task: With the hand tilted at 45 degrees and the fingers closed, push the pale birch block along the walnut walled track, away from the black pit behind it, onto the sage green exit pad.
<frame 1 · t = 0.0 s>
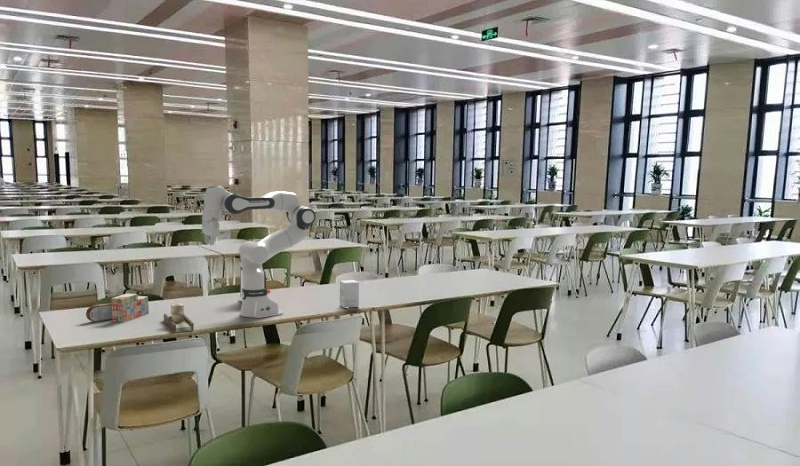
hand: (209, 244, 306), 39 cm above the table, tool pointing down, fingers open, 8 cm apart
walled track: (178, 325, 295), on the table
supplement box: (348, 307, 347), on the table
birch block: (177, 320, 296), point 2 cm above the table, touching walled track
tin: (102, 321, 301), on the table
stack of blocks: (130, 318, 308), on the table
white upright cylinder: (253, 302, 354), on the table
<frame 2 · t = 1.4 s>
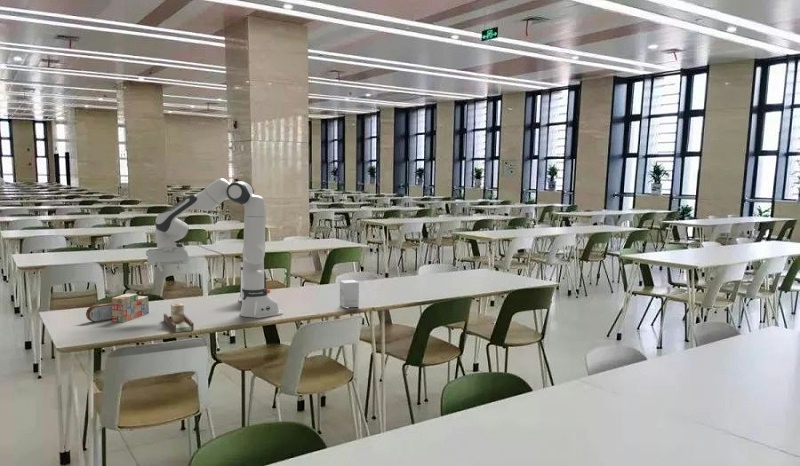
hand: (170, 270, 308), 25 cm above the table, tool tilted 45°, fingers open, 7 cm apart
nothing on the table moved.
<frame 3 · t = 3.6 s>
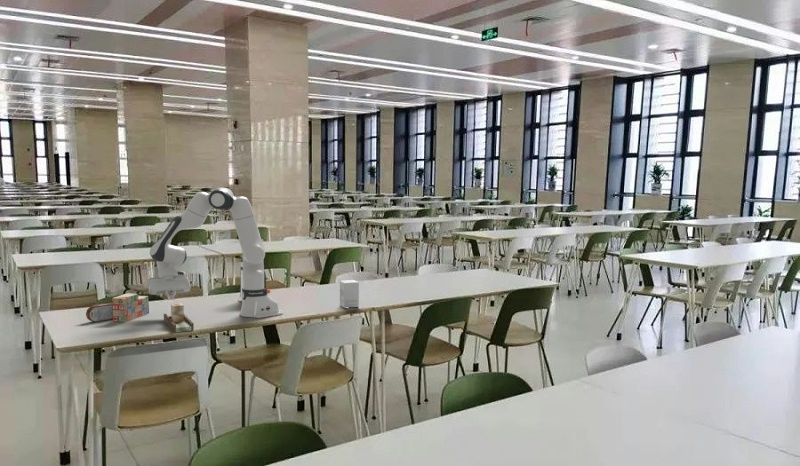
hand: (171, 298, 307), 10 cm above the table, tool tilted 45°, fingers closed
nothing on the table moved.
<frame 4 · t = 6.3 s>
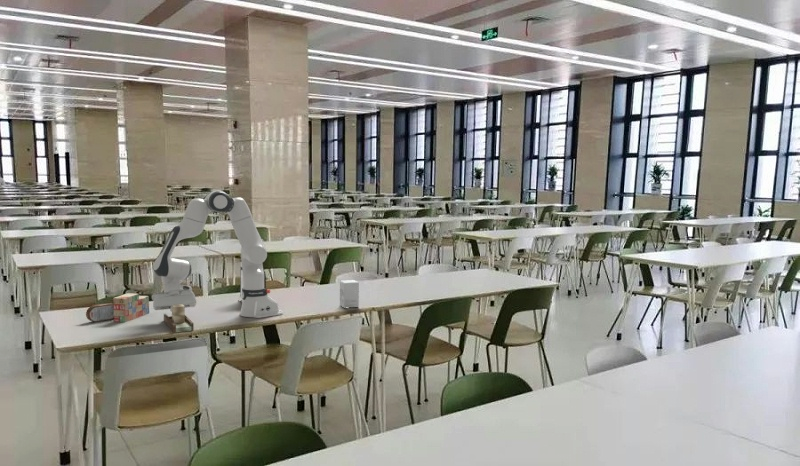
hand: (177, 314, 296), 5 cm above the table, tool tilted 45°, fingers closed, pressing on birch block
birch block: (178, 321, 294), point 2 cm above the table, touching gripper
everything else where it was.
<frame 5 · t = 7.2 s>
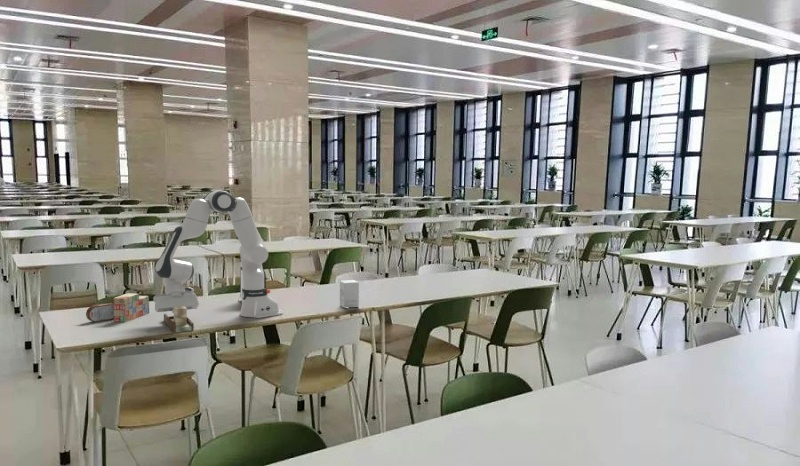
hand: (179, 316, 292), 5 cm above the table, tool tilted 45°, fingers closed, pressing on birch block
birch block: (180, 324, 289), point 2 cm above the table, touching gripper, walled track
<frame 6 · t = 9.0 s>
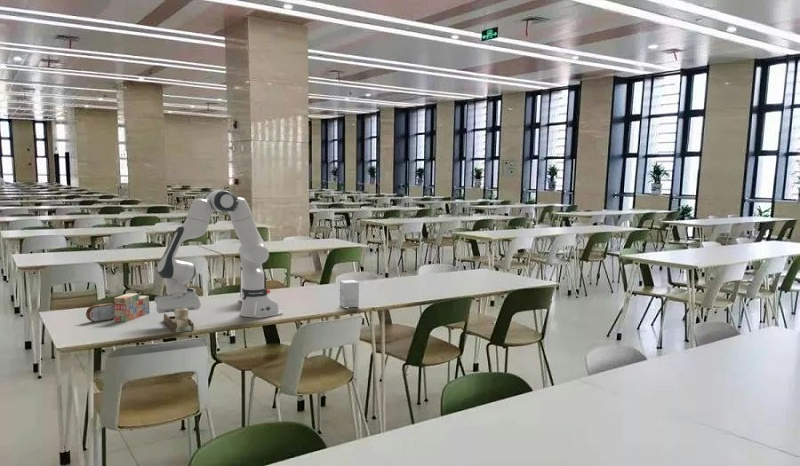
hand: (180, 317, 289), 5 cm above the table, tool tilted 45°, fingers closed
birch block: (181, 325, 286), point 2 cm above the table, touching walled track
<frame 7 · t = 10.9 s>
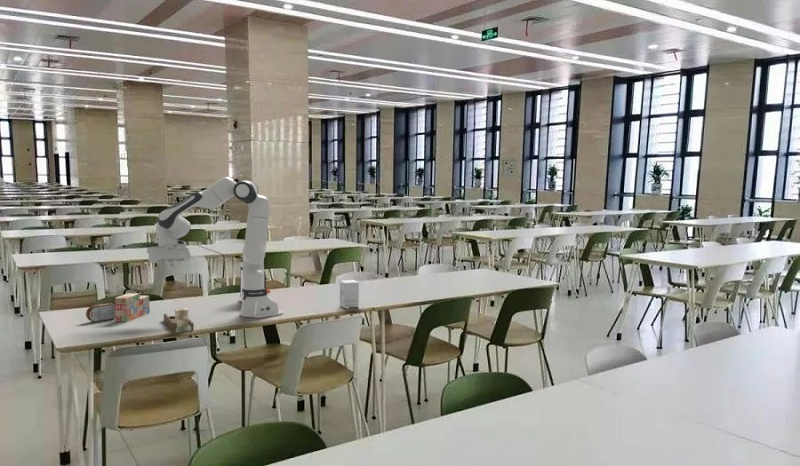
hand: (171, 267, 304), 27 cm above the table, tool tilted 45°, fingers closed
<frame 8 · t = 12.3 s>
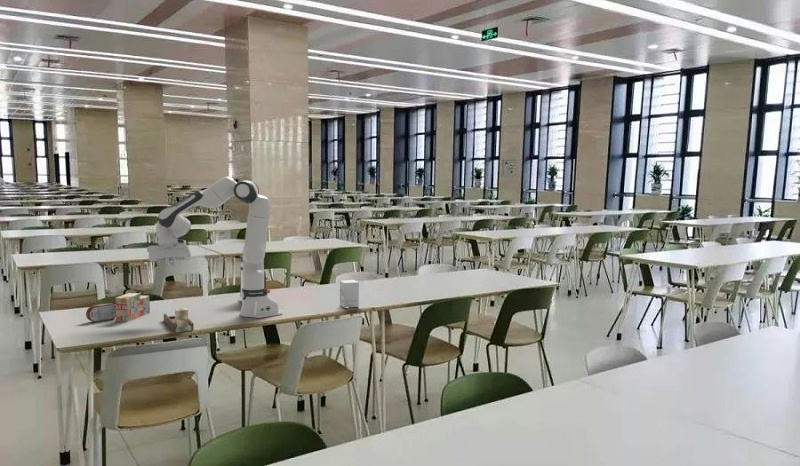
hand: (171, 266, 304), 27 cm above the table, tool tilted 45°, fingers closed
at the end: birch block 0.6 cm from the target spot, point 2.0 cm above the table; birch block tilted 0°; the gripper is holding nothing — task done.
